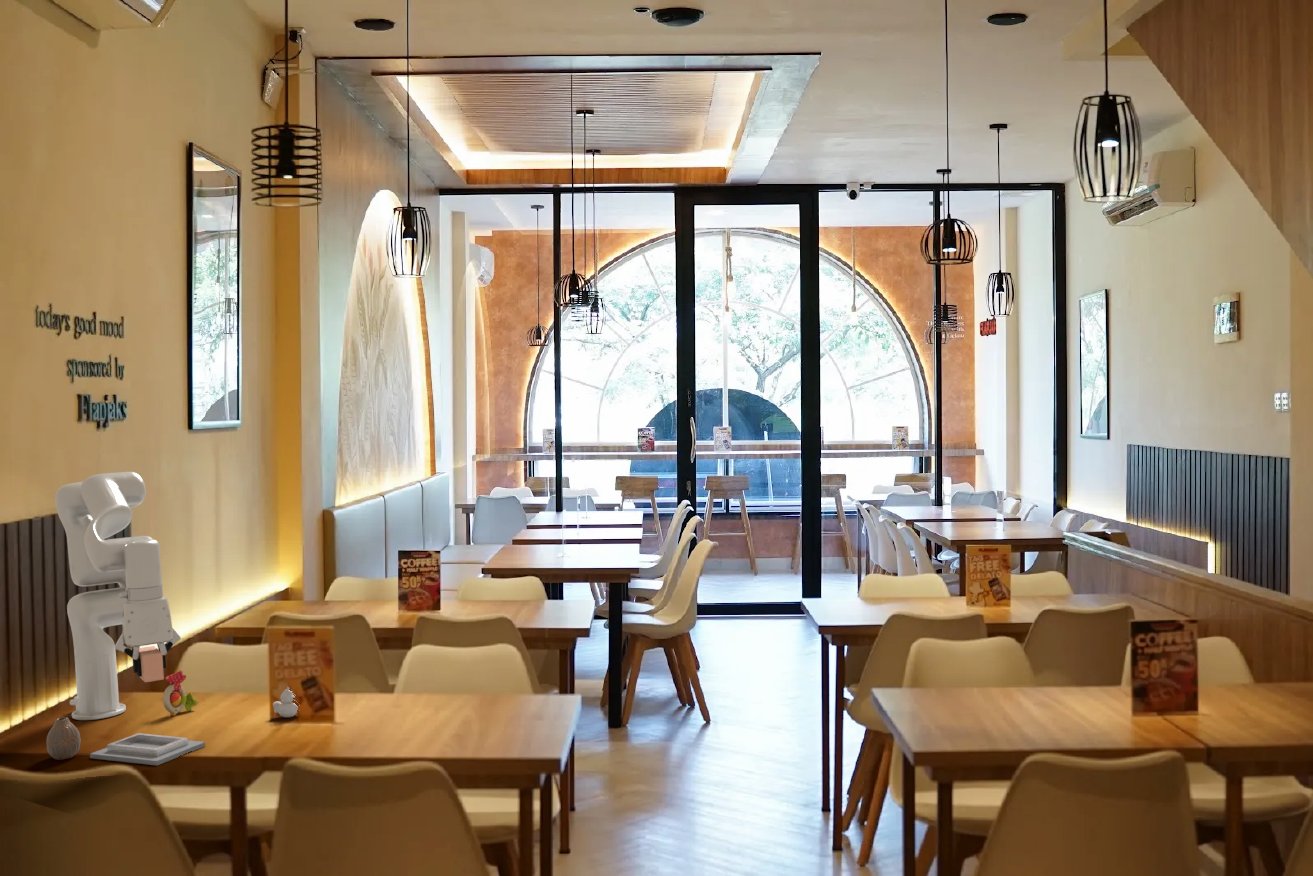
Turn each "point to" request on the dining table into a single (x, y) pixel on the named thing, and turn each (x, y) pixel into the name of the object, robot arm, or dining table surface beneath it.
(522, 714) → the dining table surface
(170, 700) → the bird rattle
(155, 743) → the board
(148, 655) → the keyed block
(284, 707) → the rubber duck
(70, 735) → the vase
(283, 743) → the dining table surface
